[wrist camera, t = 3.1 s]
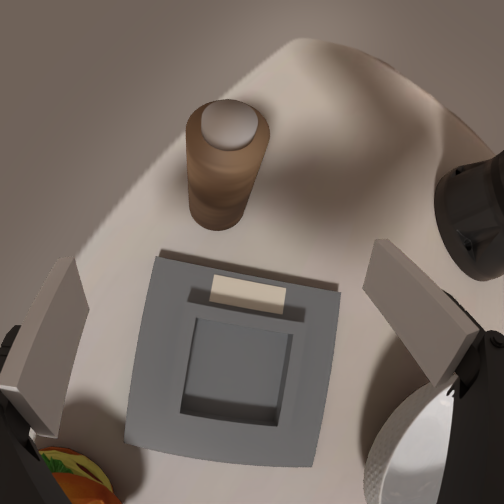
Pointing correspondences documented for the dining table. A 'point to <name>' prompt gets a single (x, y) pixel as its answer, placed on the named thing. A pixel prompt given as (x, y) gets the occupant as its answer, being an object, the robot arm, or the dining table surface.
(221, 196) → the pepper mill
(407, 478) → the cereal bowl
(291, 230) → the dining table surface
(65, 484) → the cheeseburger
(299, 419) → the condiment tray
